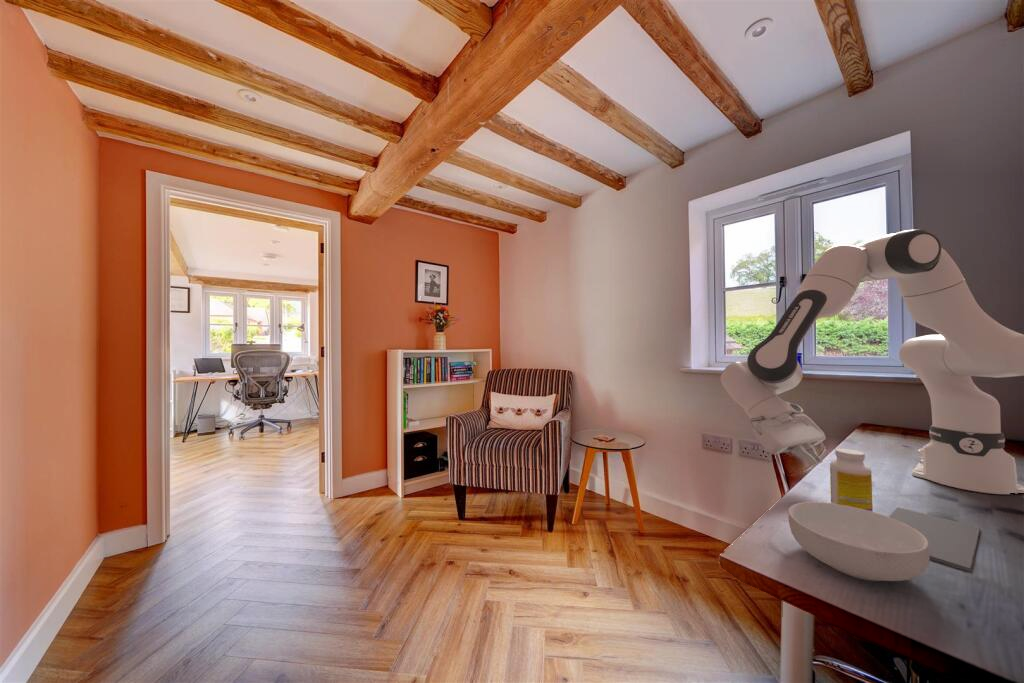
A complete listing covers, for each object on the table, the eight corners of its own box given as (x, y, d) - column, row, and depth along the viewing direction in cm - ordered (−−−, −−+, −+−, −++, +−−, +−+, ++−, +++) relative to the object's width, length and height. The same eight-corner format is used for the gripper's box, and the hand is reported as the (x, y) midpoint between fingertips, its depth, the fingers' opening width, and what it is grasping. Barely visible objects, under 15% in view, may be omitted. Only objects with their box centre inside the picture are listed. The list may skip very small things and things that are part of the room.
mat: (897, 509, 78) (897, 507, 78) (979, 530, 69) (979, 527, 69) (873, 541, 66) (873, 538, 66) (970, 571, 57) (970, 568, 57)
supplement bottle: (881, 518, 75) (880, 456, 75) (844, 515, 76) (843, 455, 76) (857, 504, 81) (856, 447, 81) (823, 502, 82) (822, 446, 83)
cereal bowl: (790, 529, 71) (789, 493, 71) (916, 560, 60) (914, 518, 60) (786, 571, 57) (786, 526, 58) (946, 621, 47) (945, 566, 47)
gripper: (755, 411, 87) (802, 463, 78) (802, 405, 96) (850, 451, 87) (737, 426, 91) (780, 477, 82) (784, 418, 100) (828, 464, 90)
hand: (817, 463), depth 84 cm, fingers closed
